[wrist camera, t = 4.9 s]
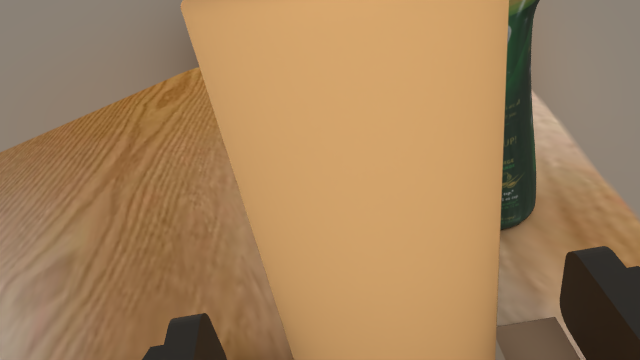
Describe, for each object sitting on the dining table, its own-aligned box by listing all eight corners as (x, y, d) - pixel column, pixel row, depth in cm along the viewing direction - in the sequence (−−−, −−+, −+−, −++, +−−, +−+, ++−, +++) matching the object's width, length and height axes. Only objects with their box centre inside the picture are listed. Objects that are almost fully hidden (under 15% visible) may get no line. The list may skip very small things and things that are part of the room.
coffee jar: (525, 165, 35) (546, -143, 25) (542, 240, 29) (579, -129, 19) (388, 169, 38) (357, -109, 28) (376, 239, 32) (330, -87, 21)
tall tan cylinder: (323, 490, 18) (99, -146, 7) (426, 419, 20) (368, -196, 9) (401, 636, 15) (189, -196, 4) (521, 536, 16) (619, -267, 5)
